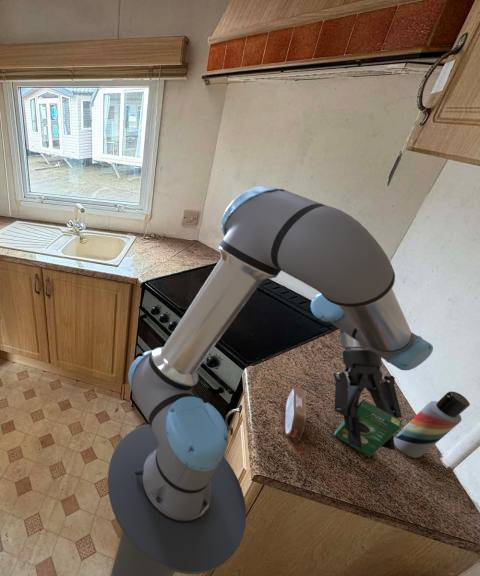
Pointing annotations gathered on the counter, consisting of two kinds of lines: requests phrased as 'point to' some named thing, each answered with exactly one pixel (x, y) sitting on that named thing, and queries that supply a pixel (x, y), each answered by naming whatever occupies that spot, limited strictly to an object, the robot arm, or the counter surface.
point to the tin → (295, 414)
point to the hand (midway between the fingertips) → (371, 446)
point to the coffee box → (371, 428)
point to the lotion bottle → (431, 424)
